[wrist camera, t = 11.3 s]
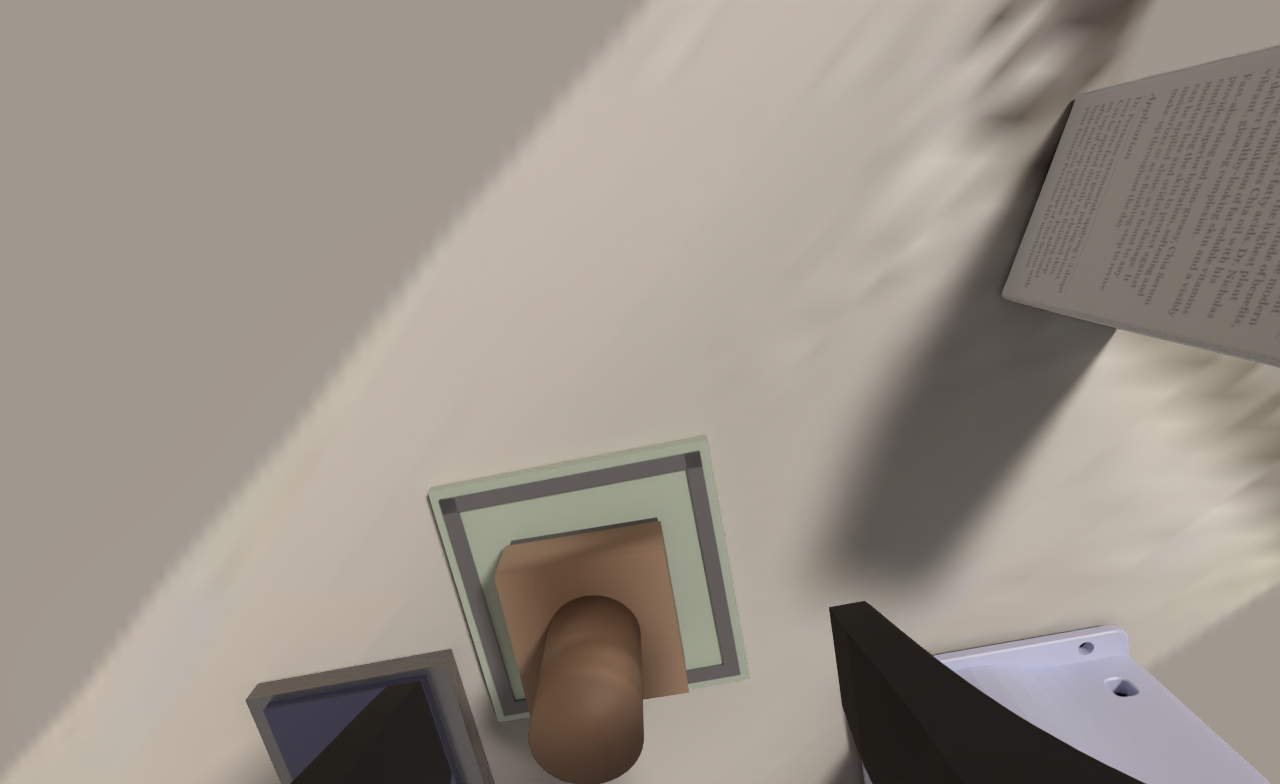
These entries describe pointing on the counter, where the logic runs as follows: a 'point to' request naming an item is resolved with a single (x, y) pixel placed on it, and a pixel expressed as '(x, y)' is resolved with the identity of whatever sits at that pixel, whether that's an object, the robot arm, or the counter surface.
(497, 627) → the pale green flat square
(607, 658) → the stamp
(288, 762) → the ink pad
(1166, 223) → the skincare box
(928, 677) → the robot arm
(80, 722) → the counter surface
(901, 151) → the counter surface
